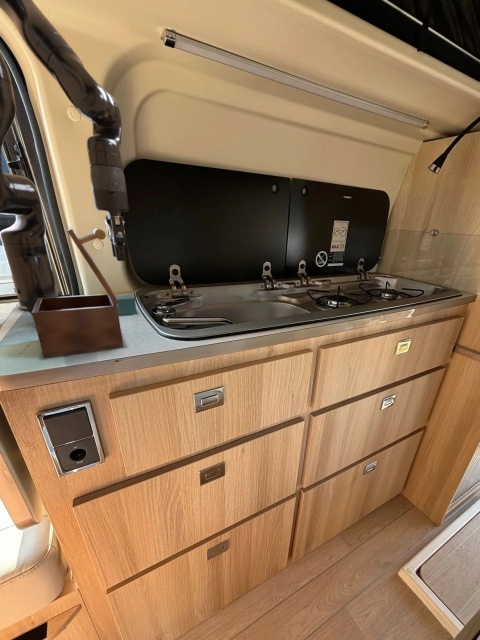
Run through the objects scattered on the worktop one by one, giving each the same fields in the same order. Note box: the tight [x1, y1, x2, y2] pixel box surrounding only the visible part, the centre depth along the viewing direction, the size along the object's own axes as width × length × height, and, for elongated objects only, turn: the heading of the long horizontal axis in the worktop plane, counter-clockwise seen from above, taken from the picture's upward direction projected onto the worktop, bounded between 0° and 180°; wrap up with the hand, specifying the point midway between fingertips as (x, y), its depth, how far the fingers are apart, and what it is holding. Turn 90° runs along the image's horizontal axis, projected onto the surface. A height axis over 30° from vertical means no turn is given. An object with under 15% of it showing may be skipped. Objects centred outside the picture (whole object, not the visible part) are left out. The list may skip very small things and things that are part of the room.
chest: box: [31, 293, 124, 359], centre depth 60 cm, size 14×12×9 cm
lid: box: [67, 226, 119, 305], centre depth 58 cm, size 14×12×5 cm
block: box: [115, 294, 138, 316], centre depth 82 cm, size 4×4×4 cm
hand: (119, 258), depth 77 cm, fingers open, 8 cm apart
